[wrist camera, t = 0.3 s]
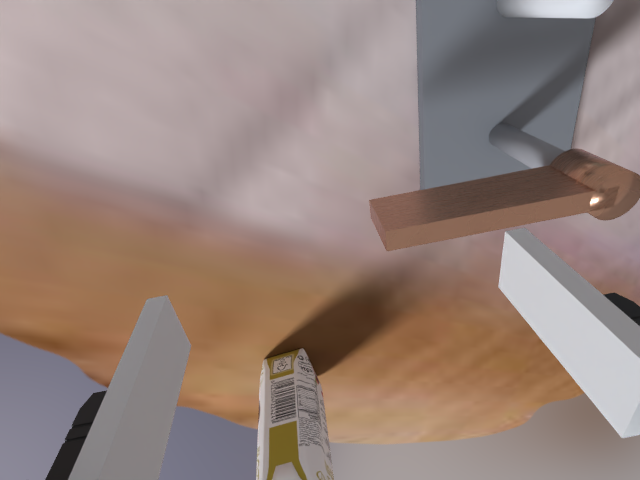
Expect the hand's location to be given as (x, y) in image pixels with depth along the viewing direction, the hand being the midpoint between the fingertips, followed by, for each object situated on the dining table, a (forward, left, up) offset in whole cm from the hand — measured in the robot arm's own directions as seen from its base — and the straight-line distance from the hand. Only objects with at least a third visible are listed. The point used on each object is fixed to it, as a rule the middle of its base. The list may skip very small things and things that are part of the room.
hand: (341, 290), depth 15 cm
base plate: (-1, +20, -27) cm, 33 cm away
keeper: (+5, +13, -15) cm, 20 cm away
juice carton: (+35, -8, -27) cm, 45 cm away
